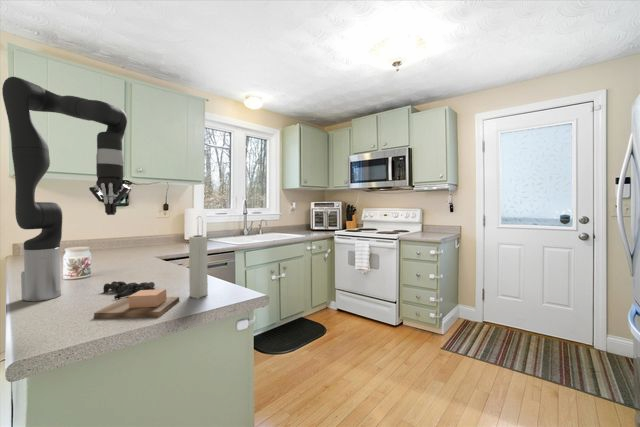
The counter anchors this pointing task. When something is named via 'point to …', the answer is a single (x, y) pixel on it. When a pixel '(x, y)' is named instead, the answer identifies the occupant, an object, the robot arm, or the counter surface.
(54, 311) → the counter surface
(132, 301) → the labeled cardboard box
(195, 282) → the paper towel roll
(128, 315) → the board
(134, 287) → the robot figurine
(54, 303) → the counter surface
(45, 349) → the counter surface
